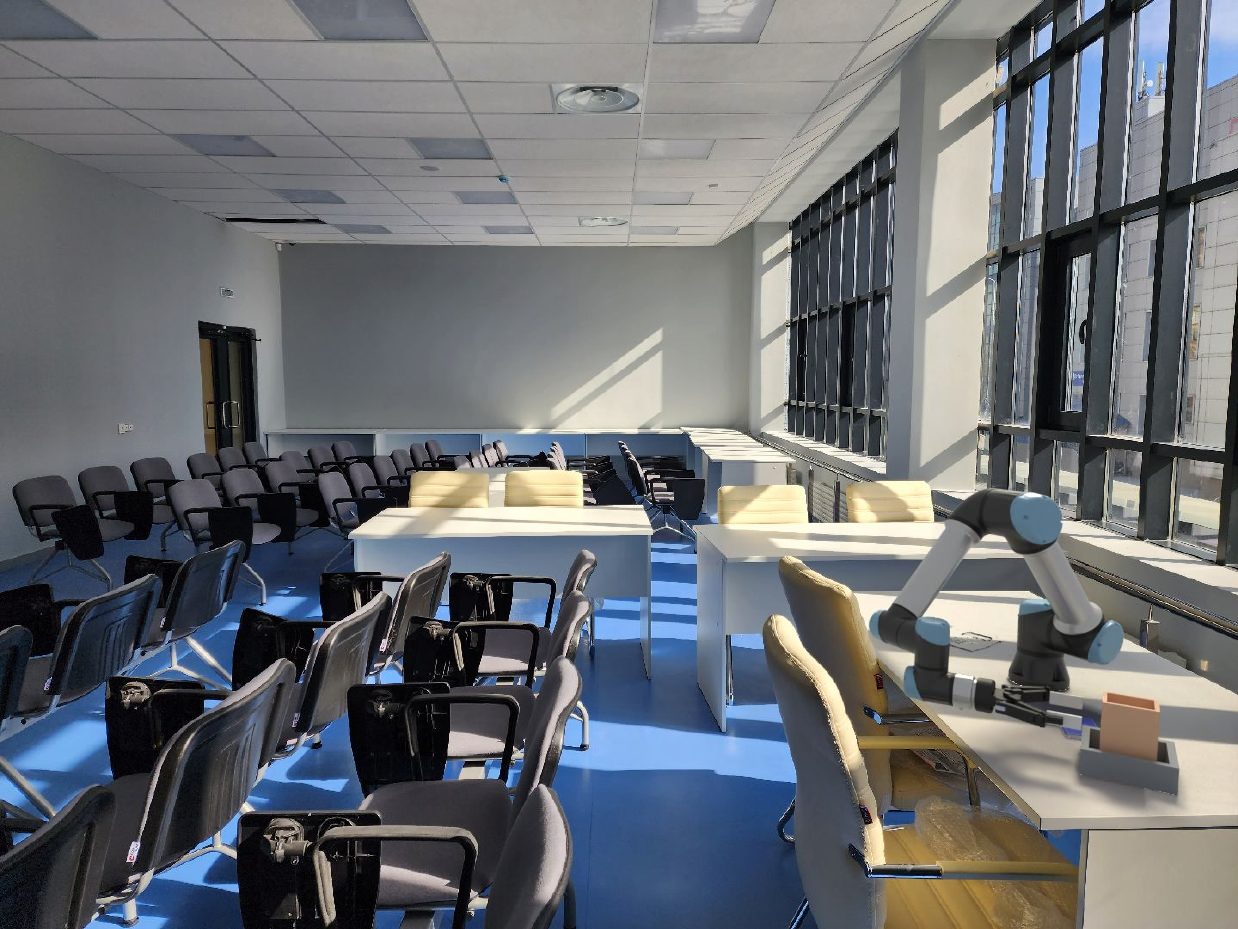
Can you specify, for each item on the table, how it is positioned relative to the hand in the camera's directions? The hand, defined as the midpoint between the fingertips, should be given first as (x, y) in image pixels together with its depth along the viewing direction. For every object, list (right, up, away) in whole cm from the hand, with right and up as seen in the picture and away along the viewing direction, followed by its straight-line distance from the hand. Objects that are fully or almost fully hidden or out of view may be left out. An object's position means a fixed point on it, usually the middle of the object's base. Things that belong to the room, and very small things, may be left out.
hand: (1082, 713), depth 176 cm
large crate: (+7, -11, -4) cm, 14 cm away
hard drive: (+9, -10, +18) cm, 23 cm away
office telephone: (+11, -4, +93) cm, 94 cm away
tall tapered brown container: (+7, -10, -4) cm, 13 cm away
